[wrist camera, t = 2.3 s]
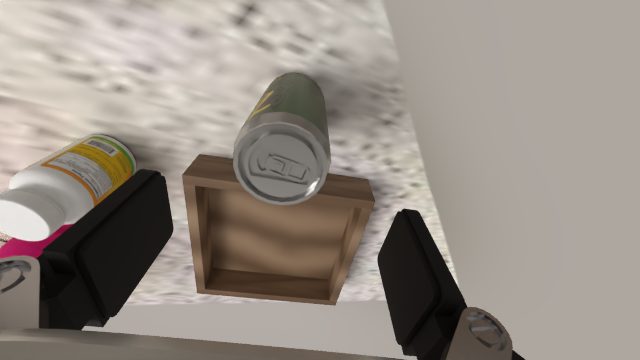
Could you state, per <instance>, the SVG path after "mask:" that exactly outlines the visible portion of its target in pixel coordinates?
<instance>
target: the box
mask: <svg viewBox="0 0 640 360" xmlns="http://www.w3.org/2000/svg"><path fill="white" fill-rule="evenodd" d="M182 178H183V186H184V193H185V201H186V209H187V217H188V225H189V232H190V240H191V248H192V256H193V264H194V271H195V279H196V287H197V293H200V294H211V295H222V296H234V297H245V298H256V299H268V300H279V301H290V302H302V303H313V304H324V305H336V302H337V300H338V297H339V294H340V292H341V289H342V286H343V284H344V281H345V279H346V276H347V273H348V271H349V268H350V266H351V263H352V260H353V258H354V255H355V253H356V250H357V247H358V245H359V242H360V240H361V237H362V234H363V232H364V229H365V226H366V224H367V221H368V219H369V216H370V213H371V211H372V208H373V206H374V203H375V200H374V197H373V194H372V191H371V188H370V185H369V182H368V180H367V179H360V178H354V177H347V176H340V175H334V174H327V176H326V179H325V182H324V184H323V185H322V187H321V188H320V189H319V191H318V192H317V193H316V194H315V195H313V196H312V197H310V198H309V199H308V200H305V201H303V202H300V203H297V204H292V205H277V204H270V203H267V202H264V201H262V200H260V199H257V198H255V197H254V196H253V195H251V194H250V193H249V192H248V191H246V190H245V189H244V187H243V186H242V185H241V183H240V182H239V181H238V179H237V177H236V174H235V170H234V167H233V159H227V158H220V157H213V156H207V155H200V154H199V155H198V156H197V158H196V159H195V160H194V161H193V162H192V164H191V165H190V166H189V167H188V168H187V170H186V171H185V172H184V173H183V174H182Z"/></svg>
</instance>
